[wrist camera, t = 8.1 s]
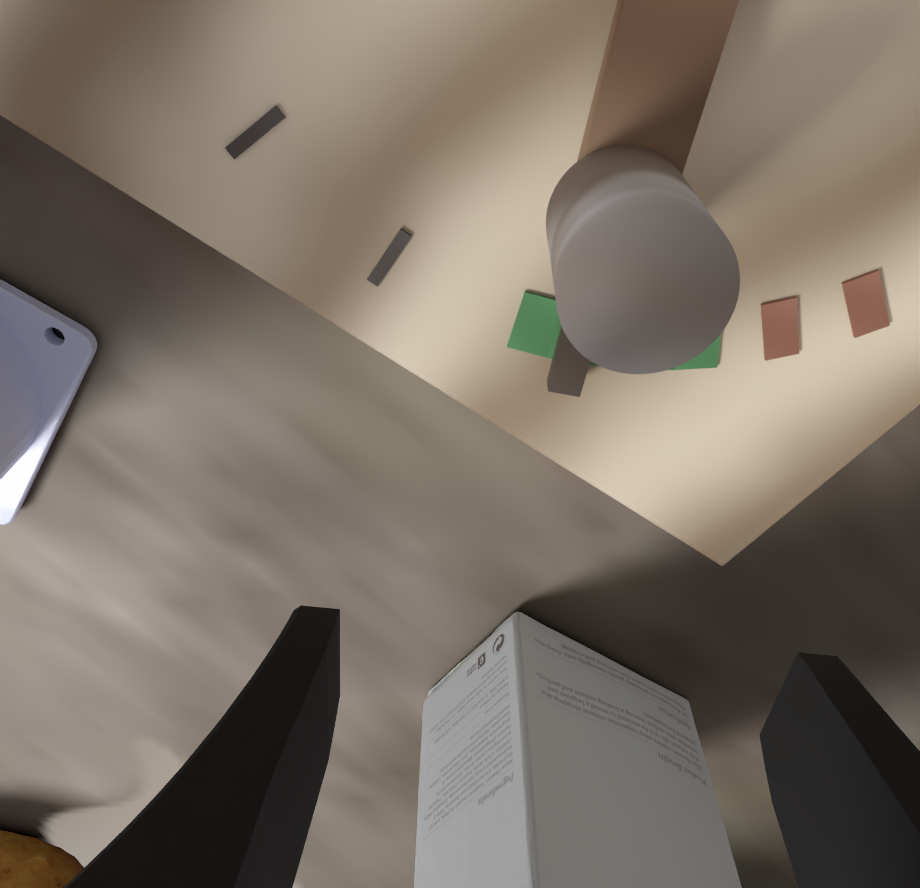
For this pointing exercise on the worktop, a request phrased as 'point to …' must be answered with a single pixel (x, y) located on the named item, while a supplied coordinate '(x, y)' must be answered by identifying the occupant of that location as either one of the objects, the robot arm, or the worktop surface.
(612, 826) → the skincare box
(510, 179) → the dial board
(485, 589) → the worktop surface
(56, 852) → the potato
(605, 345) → the lever
